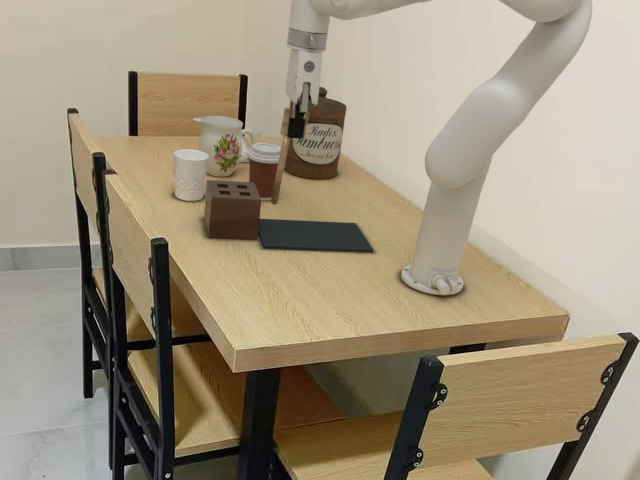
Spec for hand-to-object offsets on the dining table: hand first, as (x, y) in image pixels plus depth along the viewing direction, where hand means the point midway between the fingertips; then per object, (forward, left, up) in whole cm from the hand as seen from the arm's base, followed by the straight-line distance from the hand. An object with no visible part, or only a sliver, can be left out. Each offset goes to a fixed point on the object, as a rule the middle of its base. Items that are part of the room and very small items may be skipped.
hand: (294, 136), depth 150 cm
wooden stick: (0, +2, -15) cm, 15 cm away
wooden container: (+46, -16, -22) cm, 53 cm away
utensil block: (+2, +11, -22) cm, 24 cm away
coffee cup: (+24, +1, -22) cm, 32 cm away
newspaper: (+60, +5, -22) cm, 64 cm away
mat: (0, -7, -22) cm, 23 cm away
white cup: (+21, +19, -22) cm, 35 cm away
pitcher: (+40, +9, -22) cm, 46 cm away
